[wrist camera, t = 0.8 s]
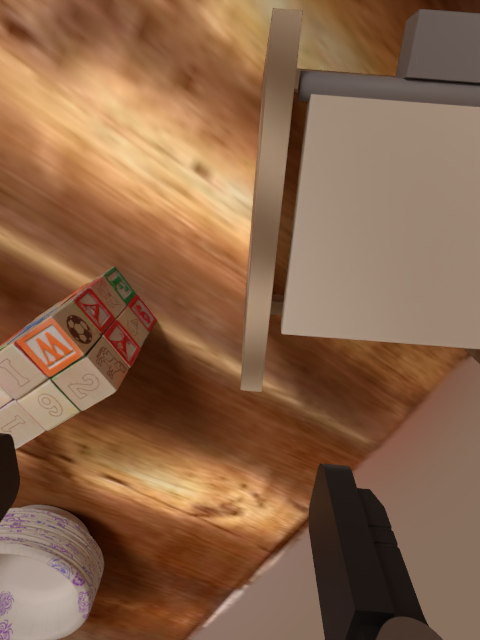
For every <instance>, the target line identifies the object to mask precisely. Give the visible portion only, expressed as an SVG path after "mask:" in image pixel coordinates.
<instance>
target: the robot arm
mask: <svg viewBox="0 0 480 640" xmlns="http://www.w3.org/2000/svg"><path fill="white" fill-rule="evenodd" d="M19 485H20V475H19V469H18V464H17V458H16V452H15V446H14V440H13V437H12V436H11V435H10V434H5V433H0V522H1V521H2V519H3V518H4V516H5V515H6V513H7V512H8V510H9V509H10V507H11V506H12V504H13V503H14V501H15V499H16V496H17V493H18V490H19ZM309 534H310V540H311V547H312V554H313V561H314V568H315V574H316V581H317V588H318V594H319V601H320V608H321V615H322V622H323V629H324V635H325V640H443V639H442V638H441V637H440V636H439V635H438V634H437V633H436V632H435V631H434V630H432V629H431V628H430V627H429V625H428V624H427V622H426V620H425V617H424V615H423V613H422V610H421V607H420V605H419V602H418V599H417V596H416V593H415V591H414V588H413V585H412V582H411V580H410V577H409V574H408V571H407V569H406V566H405V563H404V561H403V558H402V555H401V552H400V549H399V548H398V547H397V541H396V539H395V536H394V533H393V531H392V530H391V524H390V522H389V519H388V516H387V513H386V511H385V508H384V506H383V505H382V504H381V503H380V501H379V500H378V499H377V498H376V496H375V495H374V494H373V493H372V491H371V490H370V489H359V488H357V487H356V484H355V480H354V477H353V474H352V471H351V468H350V467H349V466H343V465H332V464H320V465H319V467H318V470H317V474H316V479H315V483H314V488H313V492H312V497H311V501H310V506H309Z"/></svg>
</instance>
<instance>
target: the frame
mask: <svg viewBox="0 0 480 640" xmlns="http://www.w3.org/2000/svg"><path fill="white" fill-rule="evenodd" d="M302 12H303V11H299V10H286V9H274V8H273V11H272V18H271V24H270V31H269V38H268V45H267V52H266V59H265V66H264V74H263V86H262V99H261V111H260V123H259V136H258V148H257V160H256V173H255V185H254V197H253V210H252V222H251V234H250V247H249V259H248V272H247V284H246V296H245V311H244V332H243V353H242V373H241V390H246V391H259V392H262V382H263V373H264V364H265V355H266V345H267V336H268V327H269V317H270V315H282V309H283V301H284V295H283V294H272V290H273V280H274V271H275V262H276V253H277V243H278V234H279V225H280V216H281V206H282V197H283V188H284V179H285V169H286V160H287V151H288V142H289V132H290V123H291V114H292V105H293V95H294V93H298V84H299V78H300V73H301V71H313V72H326V73H339V74H352V75H365V76H378V77H391V78H395V77H396V76H387V75H374V74H361V73H348V72H335V71H322V70H309V69H297V58H298V49H299V40H300V31H301V21H302ZM464 349H465V350H466V351H467V352H468V353H469V354H470V355H471V356H472V357H473V358H474V359H475V360H476V361H477V362H479V363H480V349H471V348H464Z"/></svg>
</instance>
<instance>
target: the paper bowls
mask: <svg viewBox="0 0 480 640" xmlns="http://www.w3.org/2000/svg"><path fill="white" fill-rule="evenodd" d="M103 570H104V560H103V555H102V552H101V549H100V548H99V546H98V544H97V543H96V541H95V540H94V539H93V537H92V536H90V533H89V531H88V529H87V528H86V526H85V525H84V524H83V523H82V522H81V520H79V519H78V518H77V517H76V516H74V515H73V514H71V513H69V512H68V511H65V510H63V509H60V508H57V507H54V506H49V505H29V506H25V507H22V508H10V509H9V510H8V512H7V513H6V515H5V516H4V518H3V519H2V521H1V522H0V639H3V640H57V639H60V638H63V637H65V636H68V635H69V634H71V633H72V632H74V631H76V630H77V629H78V628H79V627H80V626H81V625H82V624H83V623H84V622H85V620H86V619H87V618H88V616H89V613H90V611H91V608H92V605H93V602H94V599H95V596H96V592H97V590H98V587H99V584H100V581H101V577H102V574H103Z"/></svg>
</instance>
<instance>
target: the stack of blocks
mask: <svg viewBox="0 0 480 640" xmlns="http://www.w3.org/2000/svg"><path fill="white" fill-rule="evenodd" d="M156 321H157V320H156V318H155V317H154V316H153V314H152V313H151V312H150V310H149V309H148V308H147V307H146V305H145V304H144V303H143V302H142V300H141V299H140V298H139V296H138V295H137V294H136V293H135V292H134V291H133V290H132V288H131V287H130V286H129V284H128V283H127V282H126V280H125V279H124V278H123V277H122V275H121V274H120V273H119V271H118V270H117V269H116V267H112V268H111V269H109V270H108V271H106V272H105V273H103V274H102V275H100V276H99V277H97V278H96V279H95V280H93V281H92V282H90V283H87V284H85V285H84V286H82V287H81V288H80V289H78V290H77V291H75V292H74V293H72V294H71V295H69V296H68V297H66V298H65V299H63V300H62V301H60V302H59V303H57V304H56V305H54V306H53V307H51V308H50V309H48V310H47V311H45V312H44V313H42V314H41V315H39V316H38V317H37V318H36V319H34V320H33V321H32V322H31V323H30V324H28V325H27V326H26V327H24V328H23V329H22V330H20V331H19V332H17V333H16V334H14V335H13V336H12V337H10V338H9V339H8V340H6V341H5V342H4V343H2V344H1V345H0V433H5V434H10V435H11V436H12V437H13V440H14V446H15V450H16V449H17V448H19V447H21V446H23V445H24V444H26V443H28V442H29V441H31V440H32V439H34V438H36V437H37V436H39V435H41V434H42V433H43V432H45V431H49V430H51V429H53V428H55V427H57V426H58V425H60V424H61V423H63V422H65V421H66V420H68V419H70V418H71V417H73V416H75V415H77V414H78V413H79V412H80V411H84V410H86V409H88V408H89V407H91V406H93V405H95V404H96V403H98V402H100V401H102V400H103V399H105V398H107V397H109V396H110V395H112V394H114V393H115V392H116V391H117V390H118V388H119V387H120V385H121V383H122V381H123V379H124V377H125V375H126V374H127V372H128V369H129V368H130V367H131V366H132V365H133V363H134V361H135V359H136V358H137V356H138V354H139V352H140V350H141V347H142V345H143V343H144V341H145V339H146V338H147V336H148V334H149V333H150V332H151V330H152V328H153V326H154V325H155V323H156Z"/></svg>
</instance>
